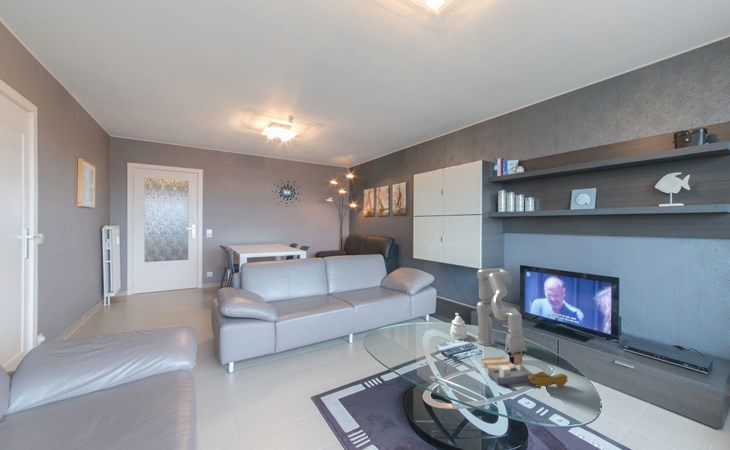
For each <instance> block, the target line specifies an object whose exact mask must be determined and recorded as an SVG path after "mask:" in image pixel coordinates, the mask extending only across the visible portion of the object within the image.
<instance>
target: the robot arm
mask: <svg viewBox="0 0 730 450" xmlns="http://www.w3.org/2000/svg"><path fill="white" fill-rule="evenodd" d="M476 276H477V277H476V278H477V281H478V297H479V299H480V300H481V301H478V302H477V303H476V313H477V320H478V321H477V322H478V323H477V327H478V328H477V329H478V333H477V335H478V337H477V338H476V342H477V343H478V344H479V345H483V346H487V347H488V346H489V347H490V346H493V345H495V340H494V339H493V327H492V326H493V324H492V323H493V322H492V318H491V317H490V315H493V316H494V318H495V319H496V320H497V321H507V334H506V337H505V346H504V347H505V348H504V350H503V352H504V353H506V355H508V356H509V360H508V361H509V362H511V363H512V364H513V365H514V357H513V353H514V352H519V353H520V354H521V355H522V357H523V356H524V354H525V352H527V351H528V348H527V347H526V343H525V338H524V334H523V333H525V330H524V329H523V318H522V314H521V312H519V311H518V310H517V308H516V307H502V305H503V303H502V302H503V300H502V298H505V297H506V296H507V295H508V289H507V287H506V285H510V284H511V283H512V276H511V274H510V273H509V272H508V271H506V270H505V269H503V268H501V267H500V268H499V267H496V268H495V267H491V268H480V269H478V270H477V272H476Z"/></svg>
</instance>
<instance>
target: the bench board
mask: <svg viewBox="0 0 730 450" xmlns="http://www.w3.org/2000/svg"><path fill="white" fill-rule="evenodd" d="M480 360H481V361H480V362H481V363H482V364H483V365H484V366H485V367H486V369H488V368H490V369H491V370H492V371H493V372H494V373H496V372H499V366H503V365H507V366H508V367H509V368H510V369H511V371H514V370H518V368H517V366H516V365H514V364H512V363H511V362H510V360H508V359H507V358H506V357H505V356H497V357H496V356H495V357H488V358H481V359H480Z"/></svg>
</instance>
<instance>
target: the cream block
mask: <svg viewBox="0 0 730 450" xmlns="http://www.w3.org/2000/svg"><path fill="white" fill-rule="evenodd" d="M499 375H500V376H501V377H509V376H511V369H510V368H509V367H508V366H507V365H503V366H499Z"/></svg>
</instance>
